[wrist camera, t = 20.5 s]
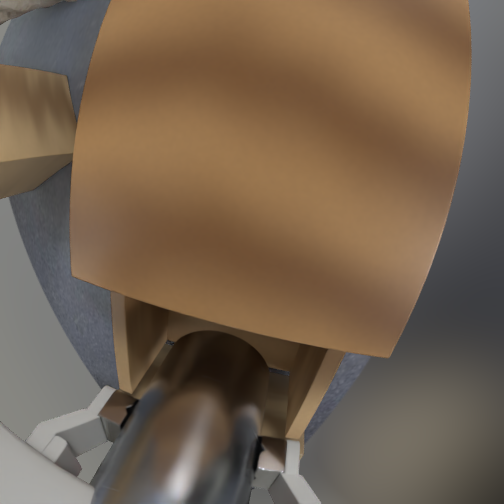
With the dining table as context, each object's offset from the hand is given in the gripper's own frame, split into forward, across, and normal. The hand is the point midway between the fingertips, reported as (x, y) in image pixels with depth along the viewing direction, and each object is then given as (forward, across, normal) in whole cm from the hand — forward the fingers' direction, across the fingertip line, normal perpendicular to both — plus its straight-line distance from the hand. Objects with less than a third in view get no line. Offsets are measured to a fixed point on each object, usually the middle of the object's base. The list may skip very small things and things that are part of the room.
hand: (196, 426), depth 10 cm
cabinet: (+10, 0, -12) cm, 15 cm away
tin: (+4, 0, 0) cm, 4 cm away
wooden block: (+10, +18, -10) cm, 23 cm away
